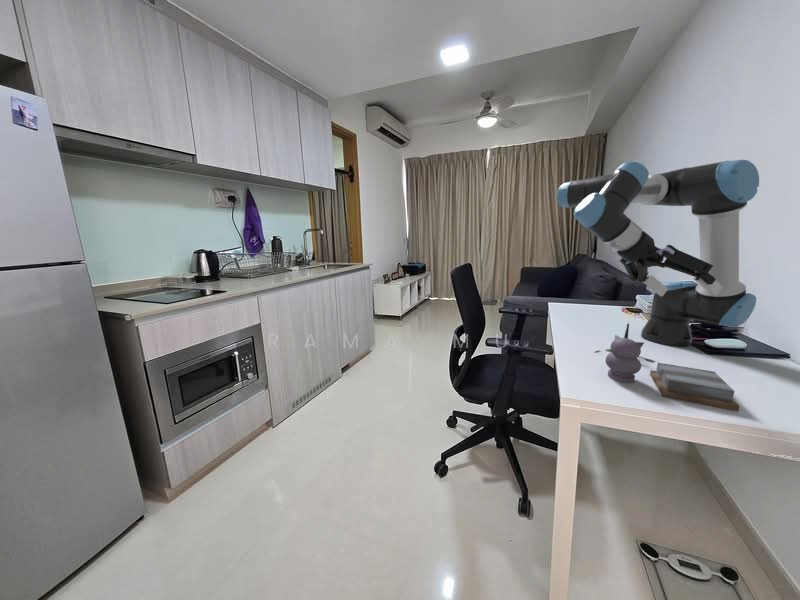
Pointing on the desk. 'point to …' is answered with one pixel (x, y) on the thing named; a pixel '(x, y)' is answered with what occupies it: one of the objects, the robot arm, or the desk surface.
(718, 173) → the robot arm
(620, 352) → the cat figurine
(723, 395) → the display plinth
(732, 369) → the desk surface
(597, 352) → the eiffel tower figurine
